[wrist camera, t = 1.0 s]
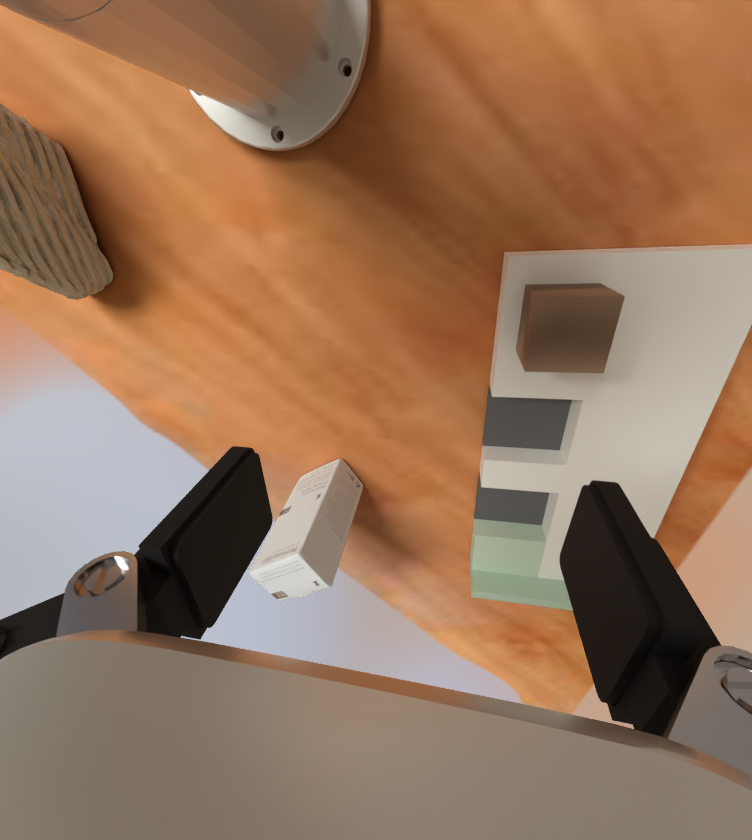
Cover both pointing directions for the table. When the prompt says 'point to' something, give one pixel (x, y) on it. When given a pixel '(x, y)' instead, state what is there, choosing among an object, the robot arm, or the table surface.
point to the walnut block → (567, 327)
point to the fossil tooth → (45, 215)
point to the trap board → (601, 404)
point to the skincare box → (309, 533)
